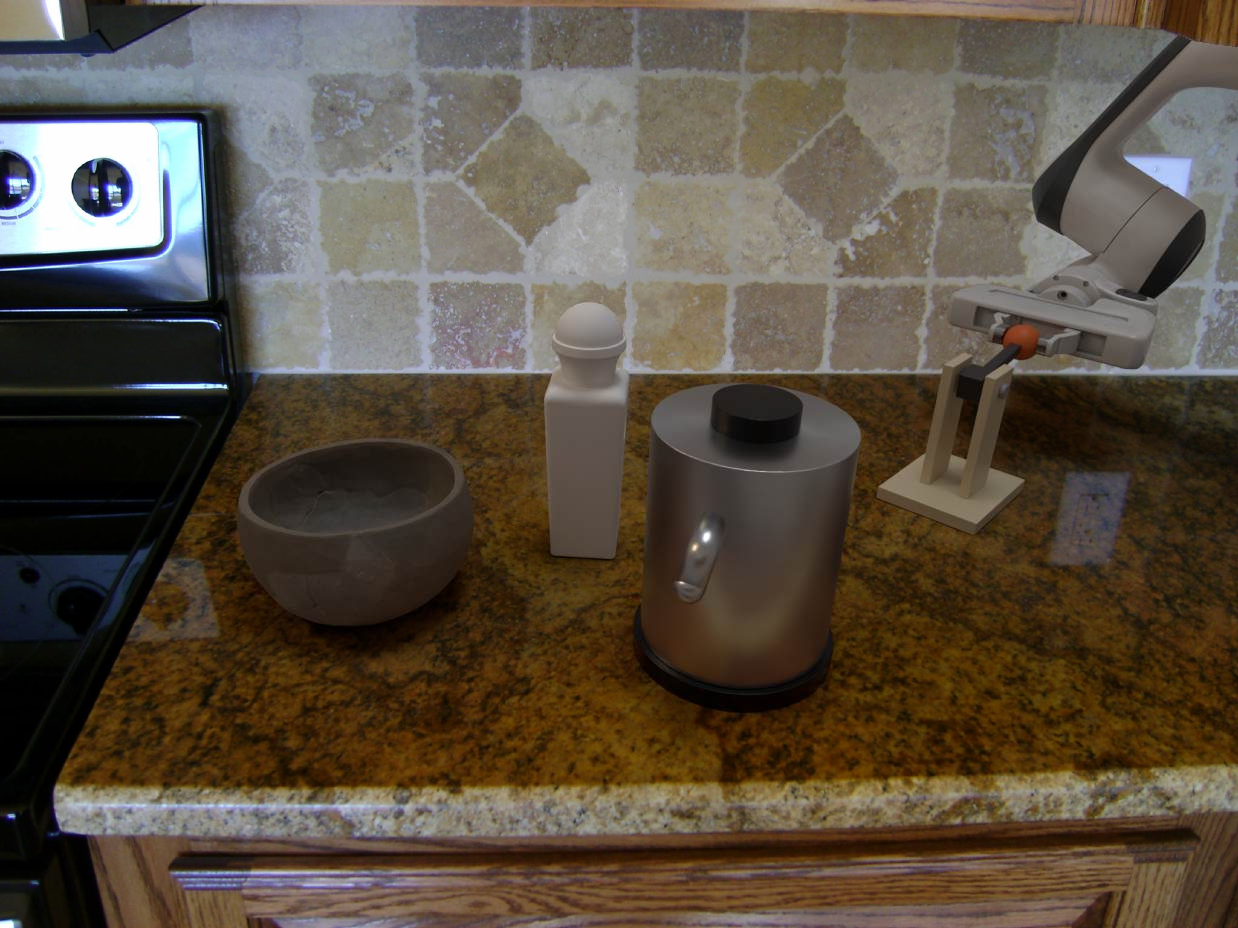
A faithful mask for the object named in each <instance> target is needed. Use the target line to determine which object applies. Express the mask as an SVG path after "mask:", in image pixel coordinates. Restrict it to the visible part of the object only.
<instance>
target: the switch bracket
mask: <svg viewBox="0 0 1238 928" xmlns="http://www.w3.org/2000/svg"><path fill="white" fill-rule="evenodd" d="M973 357H974V355H972V354H969V353H966V352H963V353H961V354H959V355H957V356H955V357H954V358H952V359H950V360H949V361H947V362H945V363H944V364H943V367H942V370H941V377H940V381H939V385H938V391H937V395H936V399H935V405H934V411H933V415H932V419H931V424H930V429H929V435H928V439H927V444H926V449H925V452H924V453H923V454H922V455H920V456H918V457H917V458H916V459H915V460H913V461H912V462H911V463H909V464H908V465H906V466H905V467H903V469H900V470H899V471H898V472H897V473H895V474H894V475H892V476H891V477H890V478H888V479H887V480H886V481H884V482H883V483H882V484H880V485H878V487H877V493H876V497H875V498H876V499H878V500H881V501H884V502H886V503H887V504H891V505H893V506H897V507H899V508H901V509H904V510H907V511H909V512H912V513H914V514H918V515H920V516H923V517H925V518H928V519H930V520H932V521H935V522H938V523H941V524H943V525H946V526H948V527H951V528H953V529H956V530H958V531H960V532H964V533H967V534H969V535H971V536H976V534H977V533H978V532H980V530H982V529H983V528H984V527H985V526H986V525H988V523H989V522H990V521H991V520H992V519H994V517H996V516H997V515H998V514H999V513H1000V512H1001V511H1002V510H1003V509H1005V507H1006V506H1008V505H1009V504H1010V503H1011V502H1012V501H1013V500H1014V499H1016V498H1017V496H1019V494H1021V493H1022V492H1023V490H1024V486H1025V482H1026V479H1024V478H1021V477H1018V476H1016V475H1012V474H1009V473H1006V472H1004V471H1000V470H998V469H995V468H992V467H991V464H992V460H993V457H994V452H995V448H996V444H997V440H998V435H999V432H1000V427H1001V423H1002V420H1003V416H1004V412H1005V407H1006V404H1007V399H1008V395H1009V392H1010V389H1011V387H1010V386H1011V383H1012V378H1013V375H1014V370H1015V366H1013V365H1009V364H1008V365H1006V364H1004V365H1002V366H1001V367H999V368H998V369H996V370H995V371H993V372H992V373H990V374H989V375H987V376H986V377H985V381H984V386H983V390H982V394H981V399H980V402H979V403H978V407H977V412H976V417H975V420H974V424H973V430H972V434H971V439H970V441H969V447H968V451H967V455H966V458H963V457H959V456H957V455H953V454H952V453H953V448H954V444H955V439H956V435H957V431H958V426H959V421H960V416H961V412H962V407H963V403H964V399H961V398H958V397H956V392H957V386H958V380H959V375H960V374H961V373H962V372H963V371H964V370H965V369H967V368H968V367H969V366H970V365H971V364H973V363H972V362H973Z"/></svg>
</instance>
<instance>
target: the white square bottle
mask: <svg viewBox="0 0 1238 928" xmlns="http://www.w3.org/2000/svg"><path fill="white" fill-rule="evenodd" d="M551 348H552V350H553V351H554V352H555V353H556V355H557V356H558V358H559V361H560V365H559V364H558V365H557V366H555V367H554V368H553V370H552V372H551V377H550V381H549V383H548V385H547V389H546V391H545V394H544V397H543V402H544V403H543V407H544V408H543V410H544V429H545V431H544V432H545V434H544V435H545V449H546V450H545V454H546V455H545V456H546V476H547V477H546V478H547V499H548V501H547V502H548V522H549V523H548V524H549V525H548V526H549V545H550V547H549V548H550V554H551V556H553V557H569V558H570V557H571V558H585V559H602V560H613V559H615V558H616V553H617V546H618V545H617V544H618V536H619V528H620V518H621V517H620V515H621V502H622V489H623V488H622V487H623V475H624V474H623V473H624V463H625V461H624V460H625V448H626V436H627V435H626V433H627V421H628V420H627V418H628V408H629V407H628V404H629V391H630V377H631V375H630V373H629V371H628V370H626V369H625V368H622V367H617V363H618V360H619V359H620V357H621V355H622V354H623V353H624V352H625V351H626V349H627V339H626V336H625V334H624V330H623V326H622V324H621V322H620V319H619V317H618V316H617V315H616V313H615V312H614V311H612V310H611V309H610V308H609V307H607V306H606V305H604V304H602V303H598V302H593V301H586V302H579V303H577V304H574V305H572V306H571V307H569V308H568V309H566V310H565V311H564V312H563V314H562V315H561V316H560V318H559V319H558V322H557V323H556V327H555V332H554V333H553V334H552V337H551Z"/></svg>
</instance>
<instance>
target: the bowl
mask: <svg viewBox="0 0 1238 928" xmlns="http://www.w3.org/2000/svg"><path fill="white" fill-rule="evenodd" d="M464 472H465V471H464V469H463V467H462V465H461V463H460V462H459V461H458V460H457V459H456V458H455V457H454V456H452V455H451V454H450V453H448V452H447V451H446V450H445V449H441V448H440V447H438V446H436V445H433V444H430V443H427V442H425V441H420V440H416V439H415V440H414V439H405V438H398V437H397V438H395V437H393V438H392V437H386V438H381V437H364V438H353V439H347V440H340V441H336V442H330V443H325V444H321V445H316V446H312V447H309V448H306V449H303V450H300V451H296V452H294V453H291V454H288V455H285V456H284V457H281V458H279V459H278V460H275V461H273V462H271V463H269V464H267V465H266V466H264V467H263V468H261V469H260V470H259V471H257V472H256V473H254V474H253V475H252V476H251V477H250V478H249V479H248V480H247V481H246V482H245V483H244V485H243V487H242V488H241V491H240V494H239V498H238V502H237V508H236V509H237V511H236V526H237V527H236V528H237V534H238V540H239V544H240V548H241V550H242V554H243V557H244V559H245V562H246V564H247V566H248V568H249V571H250V572H251V574H252V575H253V576H254V578H255V579H256V580H257V582H258V583H259V584H260V585H261V587H262V588H263V589H264V590H265V591H266V592H267V593H268V594H269V595H270V597H271V598H272V599H273V600H274V601H275V602H276V603H277V604H278V605H279V606H280V607H282V608H283V610H285V611H287V612H289V613H291V614H293V615H295V616H297V617H298V618H302V619H304V620H307V621H309V622H313V623H316V624H319V625H328V626H333V627H334V626H335V627H339V626H340V627H359V626H360V627H361V626H372V625H377V624H380V623H384V622H388V621H391V620H394V619H397V618H399V617H403V616H405V615H406V614H409V613H411V612H414V611H415V610H417V609H419V608H421V607H422V606H424V605H426V603H428V602H430V601H431V600H432V599H433V598H435V597H436V596H438V595H439V594H440V593H441V592H442V591H443V590H444V589H445V588H446V587H447V586H448V584H450V582H452V580H453V579H454V578H455V577H456V575H457V573H458V571H460V569H461V567H462V565H463V564H464V561H465V559H466V558H467V557H466V556H467V555H468V552H469V549H470V546H471V542H472V538H473V534H474V527H475V518H474V517H475V509H474V502H473V497H472V493H471V489H470V486H469V483H468V479H467V478H466V475H465V473H464Z"/></svg>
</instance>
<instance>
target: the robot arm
mask: <svg viewBox="0 0 1238 928" xmlns="http://www.w3.org/2000/svg"><path fill="white" fill-rule="evenodd" d="M1195 88H1215V89H1225V90H1233V91H1238V47H1232V46H1223V45H1215V44H1209V43H1202V42H1195V41H1193V40H1189V39H1186V38H1185V37H1182V36H1179V34H1177V35H1176V36H1175V37H1174V38H1173V39H1172V40H1171V41H1170V42H1169V43H1168V44H1167V45H1166V46H1164V48H1163V49H1162V50H1160V52H1159V53H1158V54H1157V55H1156V56H1155V57H1154V58H1153V59H1152V60H1151V61H1150V62H1149V63H1148V64H1147V65H1146V66H1145V67H1144V68H1143V69H1142V70H1141V71H1140V72H1139V73H1138V74H1137V75H1136V76H1135V78H1133V79H1132V81H1130V83H1129V84H1128V85H1127V86H1125V88H1123V90H1122V91H1121V92H1120V93H1119V94H1118V96H1117V97H1115V99H1114V100H1113V101H1112V102H1111V103H1110V104H1109V105H1108V106H1107V107H1106V108H1105V109H1104V110H1103V111H1102V112H1101V113H1100V114H1099V115H1098V116H1097V118H1095V119H1094V121H1093V122H1092V123H1091V124H1090V125H1089V126H1087V128H1086V129H1085V130H1084V131H1083V132H1082V133H1081V134H1080V135H1079V136H1078V137H1077V138H1076V139H1075V140H1074V141H1073V142H1072V143H1071V144H1069V146H1067V147H1065V149H1064V150H1062V151H1061V152H1059V153H1058V154H1057V155H1056V156H1055V157H1054V158H1053V159H1052V160H1051V161H1050V162H1048V163H1047V165H1046V166H1045V167H1044V168H1043V170H1042V171H1041V172H1040V173H1039V175H1038V176H1037V179H1036V181H1035V182H1034V184H1033V185H1032V188H1031V202H1032V209H1033V212H1034V216H1035V220H1036V222H1038V223H1040V224H1041V225H1043V226H1045V227H1047V228H1048V229H1050V230H1052V231H1054V232H1055V233H1057V234H1059V235H1061V236H1065V237H1066V238H1068V239H1069V240H1070V241H1072V242H1073V243H1074V244H1076V245H1077V246H1079V247H1080V248H1082V249H1083V250H1085V251H1086V252H1088V253H1089V255H1087V256H1084V257H1082V258H1080V259H1077V260H1074V261H1073V262H1071V263H1069V264H1068V265H1066V266H1065V267H1063V268H1060V269H1059V270H1057V271H1055V272H1053V273H1052V274H1049V275H1048V276H1045V277H1044V278H1042V279H1040V280H1039V281H1038V282H1036V283H1035V284H1034V285H1033V286H1032V287H1031V288H1030V289H1029V291H1026V290H1021V289H1016V288H1012V287H1007V286H1003V285H998V284H992V283H979V284H978V283H977V284H973V285H970V286H967V287H963V288H960V289H957V290H956V291H954V292H952V294H951V295H950V299H949V301H948V306H947V313H946V321H947V322H948V323H949V324H950V326H952V327H956V328H960V329H965V330H968V331H972V332H976V333H981V334H985V335H987V342H988V343H991V344H996V345H1001V346H1003V338H1004V336H1005V334H1006V333H1007V331H1008V330H1009V329H1011V328H1012V327H1014V326H1017V325H1029V326H1032V327H1033V328H1035V329H1036V330H1037V331H1038V332H1039V334H1040V336H1041V337H1040V338H1039V340H1038V343H1037V345H1038V347H1037V348H1036V351H1035V353H1036V355H1038V356H1042V357H1046V358H1052V357H1053V356H1055V355H1068V356H1072V357H1075V358H1076V357H1077V358H1080V359H1083V360H1088V361H1092V362H1095V363H1100V364H1104V365H1107V366H1112V367H1115V368H1119V369H1123V370H1138V369H1140V368H1141V367H1142V366H1143V365H1144V364H1145V362H1146V359H1147V355H1148V353H1149V349H1150V347H1151V343H1152V339H1153V336H1154V333H1155V329H1156V326H1157V316H1158V309H1159V302H1158V300H1157V299H1156V298H1158V297H1159V296H1160V295H1162V294H1163V293H1164V292H1165V291H1166V290H1168V289H1169V288H1170V287H1171V286H1172V285H1173V284H1174V283H1175V282H1176V281H1177V280H1178V279H1180V277H1181V276H1182V275H1183V274H1184V273H1185V272H1186V270H1187V269H1188V268H1189V267H1190V266H1191V265H1192V263H1193V262H1194V261H1195V259H1196V258H1197V257H1198V255H1199V254H1200V252H1201V250H1203V249H1202V248H1203V246H1204V244H1205V241H1206V235H1207V218H1206V214H1205V211H1204V209H1203V208H1201V207H1199V206H1198V205H1197V204H1195V203H1194V202H1192V201H1191V200H1189V199H1188V198H1186V197H1185V196H1183V195H1182V194H1180V193H1179V192H1177V191H1176V190H1174V189H1172V188H1171V187H1169V186H1168V185H1164V184H1163V183H1161V182H1160V181H1158V180H1157V179H1155V178H1154V177H1152V176H1151V175H1149V174H1148V173H1146V172H1145V171H1143V170H1141V169H1140V168H1138V167H1136V166H1135V165H1133V164H1132V163H1130V162H1129V161H1128V160H1127V159H1126V158H1125V155H1124V154H1123V148H1124V147H1125V145H1126V144H1127V143H1128V142H1130V140H1131V139H1132V138H1133V137H1134V136H1136V134H1138V132H1139V131H1140V130H1141V129H1143V128H1144V126H1145V125H1147V123H1149V122H1150V121H1151V120H1152V118H1153V117H1155V115H1157V113H1159V112H1160V111H1161V109H1163V108H1164V107H1165V106H1166V105H1167V104H1168V103H1169V102H1170V101H1171V100H1172V99H1173V98H1174V97H1175V96H1176V95H1177V94H1179V93H1180V92H1183V91H1185V90H1189V89H1195Z"/></svg>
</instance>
